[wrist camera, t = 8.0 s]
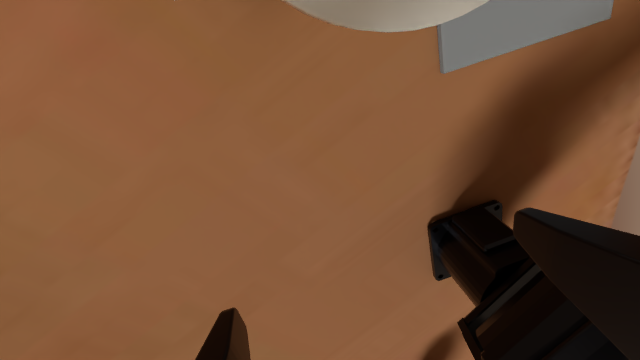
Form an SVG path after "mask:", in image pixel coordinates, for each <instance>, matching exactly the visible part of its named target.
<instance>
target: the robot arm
mask: <svg viewBox="0 0 640 360" xmlns="http://www.w3.org/2000/svg"><path fill="white" fill-rule="evenodd" d="M434 228H435V229H434ZM433 229H434V230H433ZM428 236H429V244H430V252H431V261H432V269H433V276H434V277H435V279H436V280H438V281H440V280H443V279H446V278H448V277H451V276H452V278H453V279H454V280H455V281H456V283H457V284H458V285H459V286H460V288H461V289H462V290H463V291H464V292H465V294H466V295H467V296H468V297H469V299H470V300H471V301H472V302H473V304H474V305H475V306H476V307H475V308H474V309H473V310H472V311H471V312H470V313H469V314H468V315H467V316H466V317H465V318H462V319H461V320H459V321H458V322H457V323H458V325H459V327H460V329H461V331H462V335H463V337H464V339H465V341H466V343H467V345H468V347H469V349H470V351H471V353H472V355H473V357H474V359H475V360H640V236H638V235H634V234H630V233H627V232H623V231H619V230H615V229H611V228H607V227H603V226H599V225H596V224H592V223H588V222H584V221H580V220H576V219H572V218H569V217H565V216H561V215H557V214H553V213H549V212H545V211H542V210H538V209H534V208H524V209H521V210H519V211H516V213H515V215H514V224H513V230H512V229H511V228H510V227H508V226H507V225H506V224H505V223H503V222H502V204H501V203H500V202H499V201H497V200H494V201H491V202H488V203H486V204H483V205H480V206H477V207H475V208H472V209H469V210H466V211H464V212H461V213H458V214H455V215H453V216H450V217H447V218H444V219H442V220H439V221H436V222H433V223H431V224H430V225H429V226H428ZM195 360H251V359H250V351H249V343H248V334H247V329H246V326H245V323H244V321H243V320H242V318H241V316H240V314H239V312H238V310H237V309H236V308H230V309H227V310H224V311H222V312H221V313H220V314H219V316H218V318H217V320H216V322H215V324H214V326H213V327H212V329H211V331H210V333H209V335H208V337H207V339H206V340H205V342H204V344H203V346H202V348H201V350H200V352H199V353H198V355H197V357H196V359H195Z"/></svg>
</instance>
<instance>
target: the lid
mask: <svg viewBox="0 0 640 360" xmlns="http://www.w3.org/2000/svg"><path fill="white" fill-rule="evenodd" d="M281 1H283V2H285V3H286V4H288V5H290V6H291V7H293V8H295V9H297V10H298V11H300V12H302V13H304V14H306V15H308V16H311V17H313V18H316V19H318V20H321V21H323V22H326V23H328V24H332V25H336V26H340V27H345V28H349V29H353V30H365V31H377V32H401V31H414V30H418V29H422V28H427V27H431V26H436V25H439V24H442V23H444V22H447V21H450V20H452V19H455V18H458V17H460V16H463V15H464V14H466V13H468V12H470V11H472V10H474V9H475V8H477V7H479V6H481V5H483V4H485V3H486V2H488V1H489V0H281Z"/></svg>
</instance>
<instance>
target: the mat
mask: <svg viewBox="0 0 640 360" xmlns="http://www.w3.org/2000/svg"><path fill="white" fill-rule="evenodd" d="M613 1H614V0H489V1H488V2H486V3H485V4H483V5H481V6H479V7H477V8H475V9H474V10H472V11H470V12H468V13H466V14H464V15H463V16H460V17H458V18H455V19H452V20H450V21H447V22H444V23H442V24H439V25H437V31H438V44H439V58H440V72H441V73H443V74H444V73H447V72H450V71H453V70H456V69H459V68H462V67H465V66H468V65H471V64H474V63H477V62H480V61H484V60H487V59H490V58H493V57H496V56H499V55H502V54H505V53H508V52H511V51H514V50H517V49H520V48H523V47H526V46H529V45H532V44H535V43H538V42H541V41H544V40H547V39H550V38H553V37H556V36H559V35H562V34H565V33H568V32H571V31H574V30H577V29H580V28H583V27H586V26H589V25H592V24H595V23H598V22H601V21H604V20H607V19H610V18H611V12H612V6H613Z"/></svg>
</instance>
